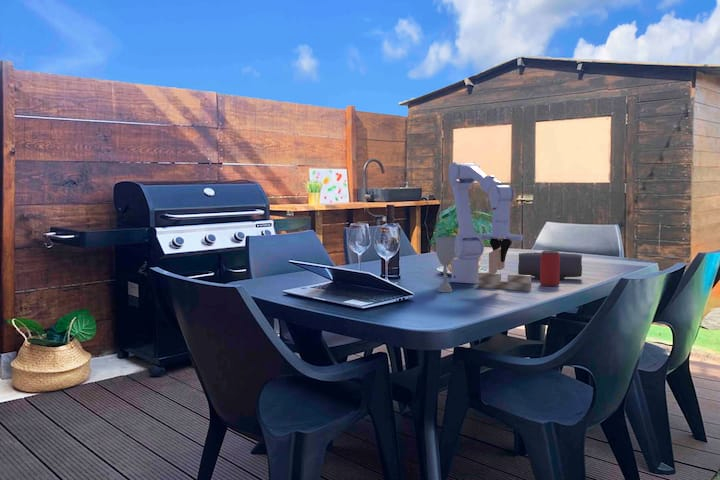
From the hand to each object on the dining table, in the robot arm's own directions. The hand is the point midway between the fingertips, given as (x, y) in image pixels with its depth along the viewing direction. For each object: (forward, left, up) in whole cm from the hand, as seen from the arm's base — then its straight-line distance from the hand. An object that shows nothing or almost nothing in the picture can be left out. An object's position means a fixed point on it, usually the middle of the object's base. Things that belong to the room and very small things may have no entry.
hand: (500, 261), depth 206 cm
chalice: (-16, -10, -10) cm, 21 cm away
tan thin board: (0, -3, -3) cm, 4 cm away
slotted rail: (0, +4, -10) cm, 11 cm away
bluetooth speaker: (+8, +34, -10) cm, 37 cm away
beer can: (+12, +18, -10) cm, 24 cm away
